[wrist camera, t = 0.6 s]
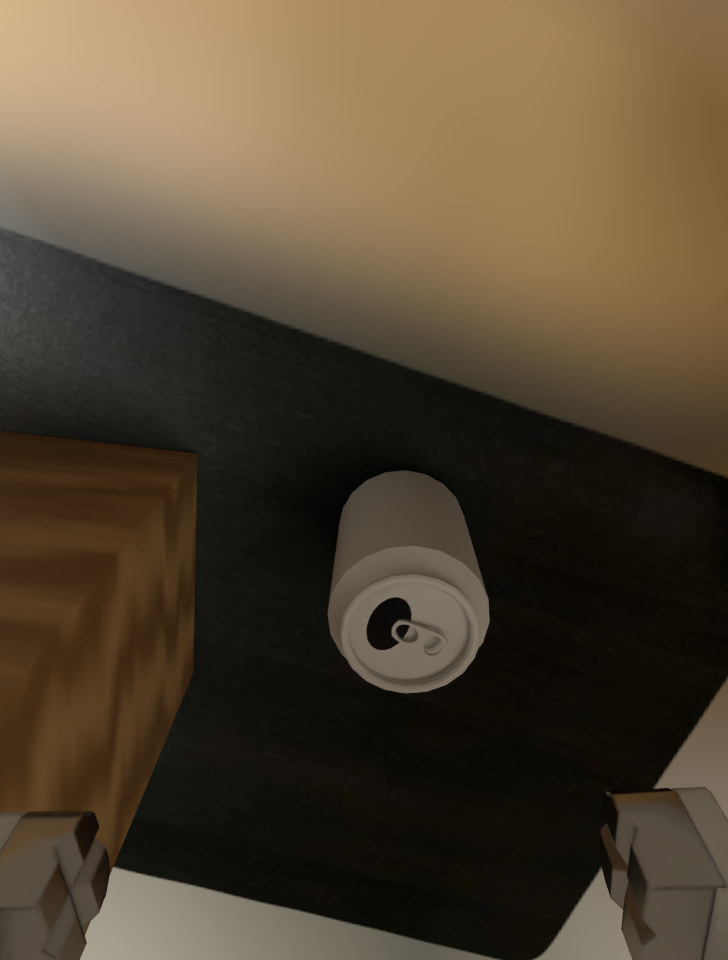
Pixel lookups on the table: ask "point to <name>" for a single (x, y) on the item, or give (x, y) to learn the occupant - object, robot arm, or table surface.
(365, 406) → the table surface
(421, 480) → the can
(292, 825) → the table surface
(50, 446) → the riser
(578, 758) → the table surface
